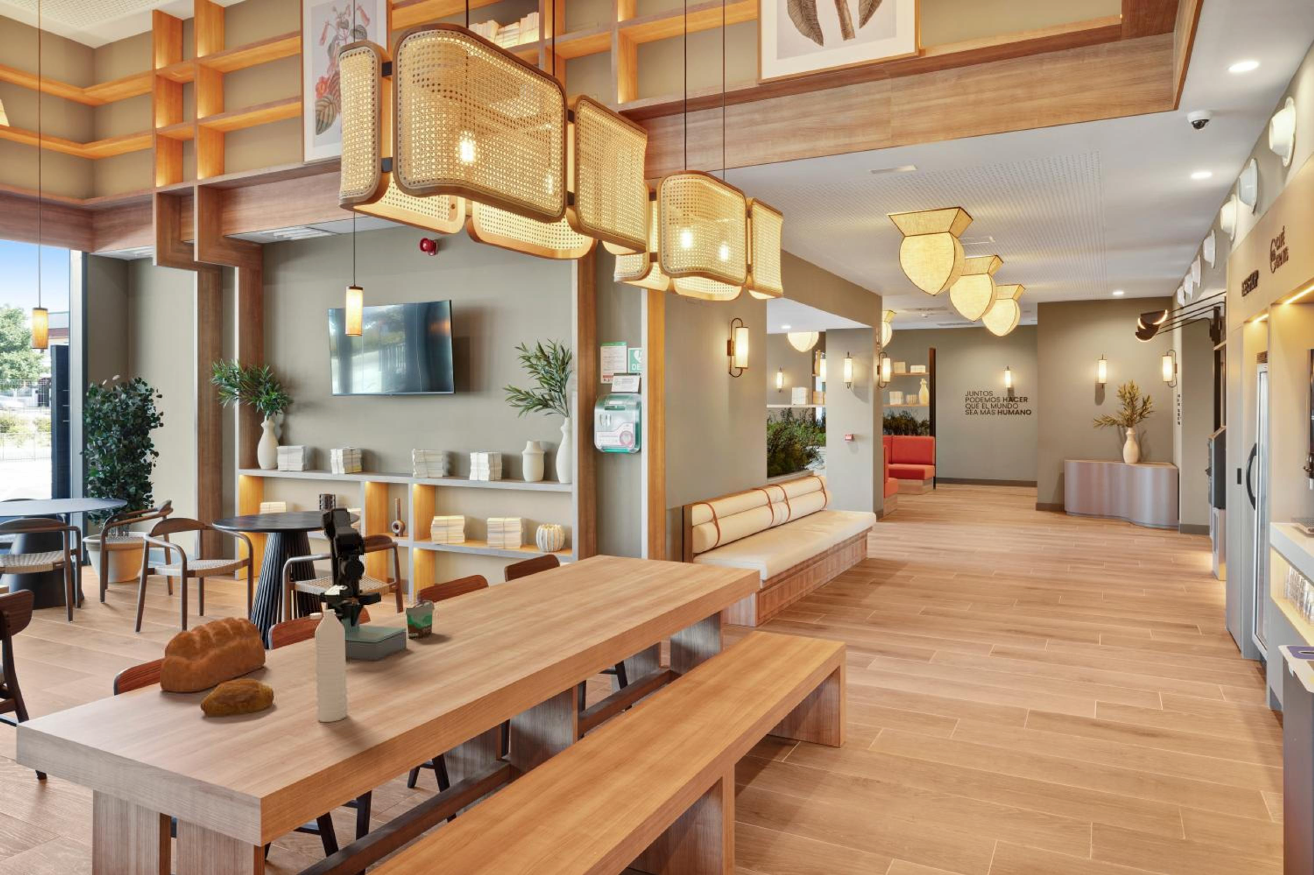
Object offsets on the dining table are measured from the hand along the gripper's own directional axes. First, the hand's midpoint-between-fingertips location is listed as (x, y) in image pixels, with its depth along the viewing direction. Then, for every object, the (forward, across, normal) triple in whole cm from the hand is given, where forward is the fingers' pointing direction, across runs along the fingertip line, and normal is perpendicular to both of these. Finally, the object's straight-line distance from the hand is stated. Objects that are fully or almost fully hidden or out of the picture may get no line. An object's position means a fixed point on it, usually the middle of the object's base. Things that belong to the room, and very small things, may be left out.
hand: (350, 626), depth 251 cm
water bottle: (+8, +34, -50) cm, 61 cm away
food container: (+8, +10, +22) cm, 26 cm away
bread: (+8, -19, -32) cm, 38 cm away
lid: (+2, +6, 0) cm, 7 cm away
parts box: (+8, +6, 0) cm, 10 cm away
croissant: (+8, +7, -49) cm, 50 cm away
